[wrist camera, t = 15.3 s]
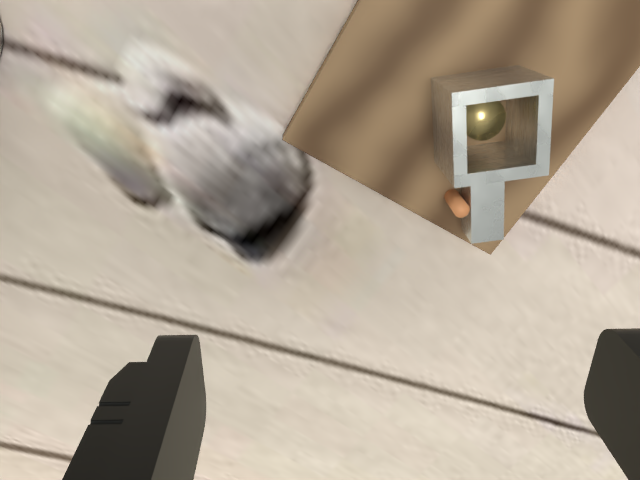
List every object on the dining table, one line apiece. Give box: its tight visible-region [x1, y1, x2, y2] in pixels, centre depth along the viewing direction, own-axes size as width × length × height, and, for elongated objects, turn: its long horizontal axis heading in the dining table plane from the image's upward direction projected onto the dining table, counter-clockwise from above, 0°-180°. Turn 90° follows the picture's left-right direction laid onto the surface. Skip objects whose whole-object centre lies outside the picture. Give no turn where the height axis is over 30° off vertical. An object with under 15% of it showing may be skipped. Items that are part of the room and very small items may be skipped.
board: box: [282, 0, 640, 255], centre depth 40 cm, size 20×22×2 cm
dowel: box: [444, 189, 470, 218], centre depth 42 cm, size 1×1×3 cm
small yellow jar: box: [466, 101, 506, 141], centre depth 39 cm, size 3×3×4 cm
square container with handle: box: [431, 65, 554, 244], centre depth 39 cm, size 12×6×6 cm, turn 8°
